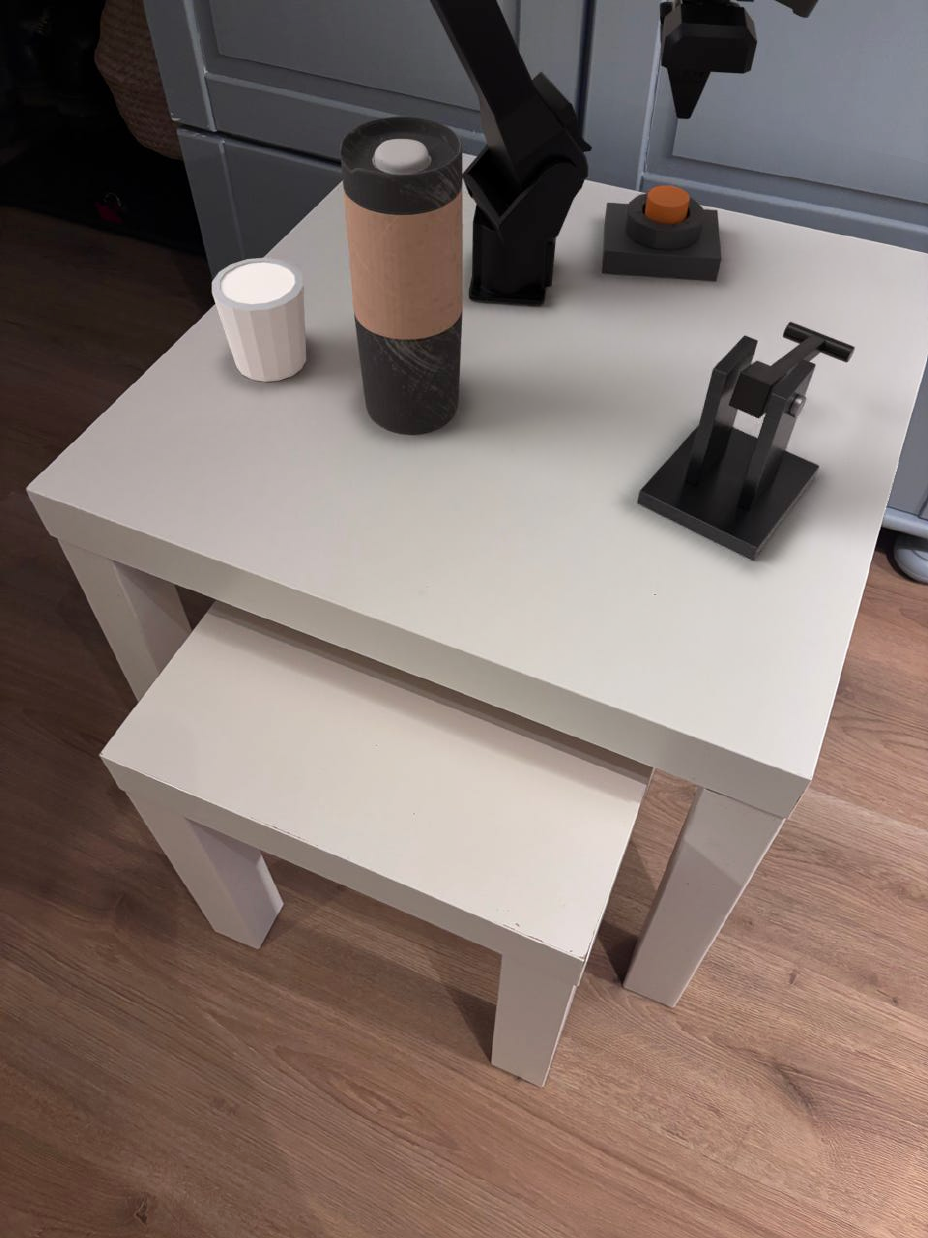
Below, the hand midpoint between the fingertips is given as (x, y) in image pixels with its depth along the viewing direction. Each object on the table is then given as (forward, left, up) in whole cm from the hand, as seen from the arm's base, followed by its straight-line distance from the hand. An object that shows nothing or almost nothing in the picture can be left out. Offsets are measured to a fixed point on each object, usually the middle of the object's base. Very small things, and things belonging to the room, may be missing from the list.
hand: (683, 116), depth 79 cm
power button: (0, 0, -8) cm, 8 cm away
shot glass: (-31, -20, -12) cm, 39 cm away
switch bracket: (+5, -30, -12) cm, 33 cm away
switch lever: (+7, -26, -6) cm, 27 cm away
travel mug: (-19, -24, -12) cm, 33 cm away
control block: (0, 0, -12) cm, 12 cm away
